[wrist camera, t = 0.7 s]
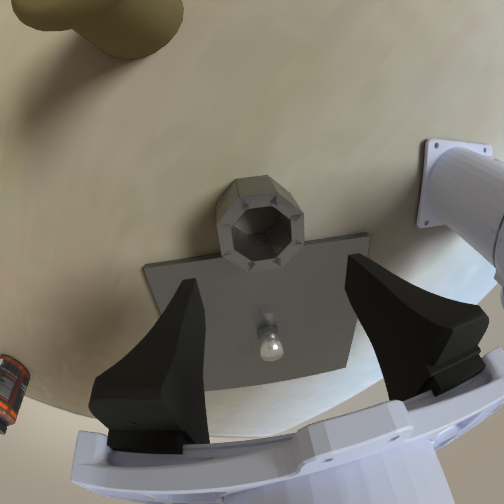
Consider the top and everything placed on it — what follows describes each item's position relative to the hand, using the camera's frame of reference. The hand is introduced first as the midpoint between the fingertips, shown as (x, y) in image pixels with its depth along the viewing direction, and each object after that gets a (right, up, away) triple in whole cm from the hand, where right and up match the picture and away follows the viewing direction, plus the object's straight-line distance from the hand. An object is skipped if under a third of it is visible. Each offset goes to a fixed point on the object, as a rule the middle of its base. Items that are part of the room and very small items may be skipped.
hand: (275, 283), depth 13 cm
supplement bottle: (-36, -15, +15) cm, 42 cm away
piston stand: (0, -6, +13) cm, 15 cm away
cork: (-8, +16, -1) cm, 18 cm away
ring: (-1, +4, +7) cm, 8 cm away
